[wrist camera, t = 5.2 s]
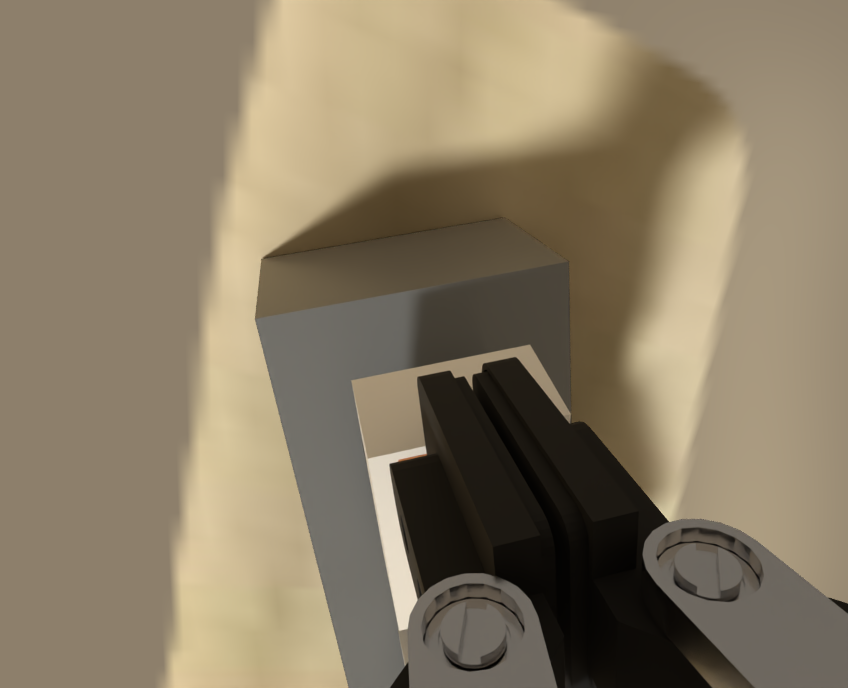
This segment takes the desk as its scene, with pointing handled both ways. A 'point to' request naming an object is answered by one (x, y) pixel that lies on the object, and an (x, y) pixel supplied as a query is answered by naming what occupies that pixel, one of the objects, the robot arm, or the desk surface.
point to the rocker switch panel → (384, 353)
